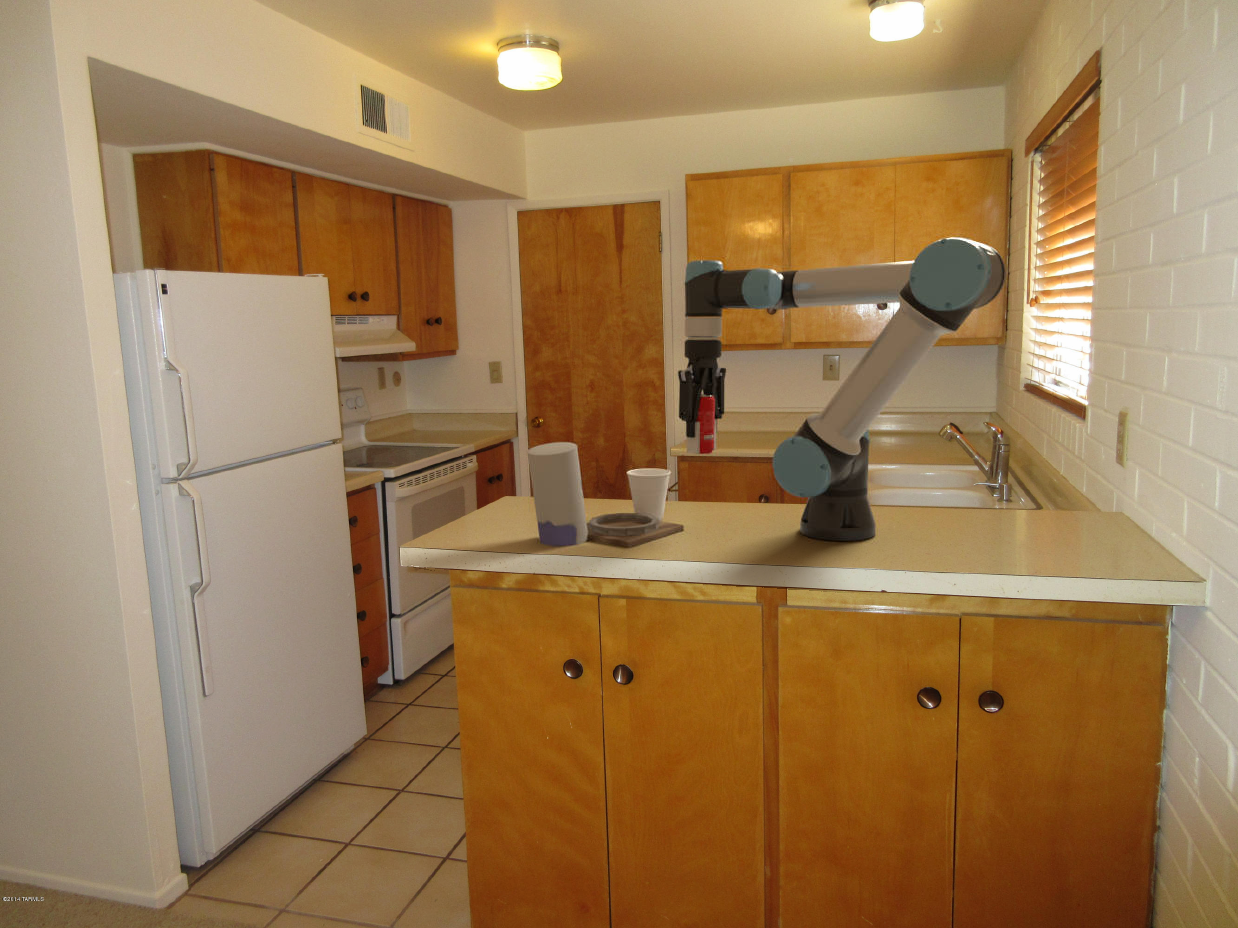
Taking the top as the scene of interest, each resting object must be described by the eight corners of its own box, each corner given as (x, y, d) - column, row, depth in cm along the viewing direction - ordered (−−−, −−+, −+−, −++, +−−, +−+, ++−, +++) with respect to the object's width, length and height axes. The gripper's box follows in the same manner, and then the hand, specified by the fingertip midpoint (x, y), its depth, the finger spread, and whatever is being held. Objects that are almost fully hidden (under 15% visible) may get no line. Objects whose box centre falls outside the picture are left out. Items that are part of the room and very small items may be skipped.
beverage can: (694, 454, 175) (694, 396, 172) (685, 451, 179) (686, 394, 177) (717, 453, 176) (718, 395, 174) (708, 450, 181) (709, 393, 179)
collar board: (683, 530, 181) (683, 518, 181) (628, 548, 168) (628, 534, 168) (619, 519, 193) (619, 507, 193) (563, 535, 180) (563, 522, 179)
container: (596, 534, 178) (585, 441, 173) (573, 551, 169) (560, 454, 164) (556, 531, 183) (543, 441, 177) (531, 548, 174) (517, 453, 169)
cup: (672, 524, 187) (671, 475, 185) (627, 525, 187) (626, 476, 186) (670, 514, 197) (670, 467, 195) (627, 515, 197) (626, 468, 196)
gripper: (714, 337, 183) (712, 444, 187) (660, 339, 169) (659, 454, 173) (743, 337, 178) (741, 448, 182) (690, 339, 164) (689, 458, 168)
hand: (701, 451), depth 178 cm, fingers closed on beverage can, 5 cm apart
